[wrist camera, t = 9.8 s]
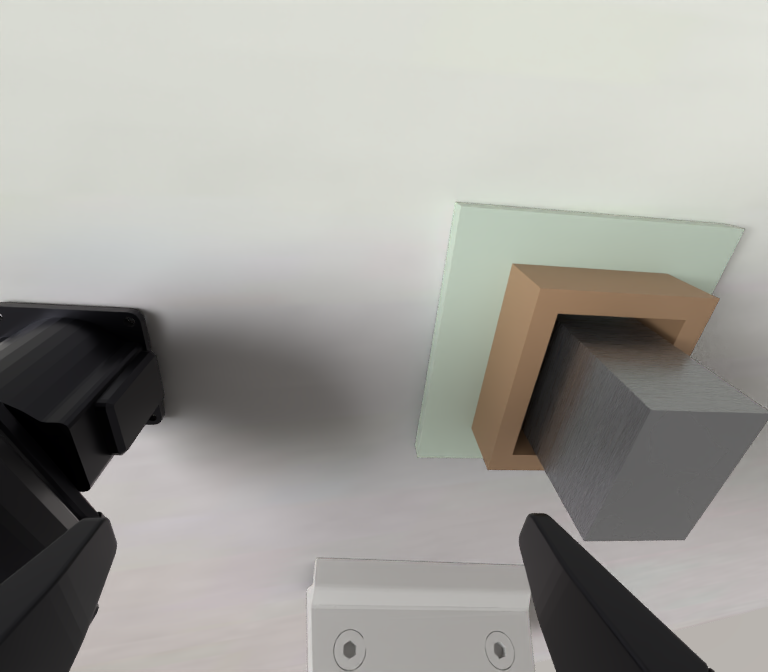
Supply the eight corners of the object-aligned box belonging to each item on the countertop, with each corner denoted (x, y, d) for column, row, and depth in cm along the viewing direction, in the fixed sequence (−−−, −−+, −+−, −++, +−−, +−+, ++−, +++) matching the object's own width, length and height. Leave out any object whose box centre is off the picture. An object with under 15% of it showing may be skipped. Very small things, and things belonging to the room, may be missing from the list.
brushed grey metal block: (507, 403, 21) (583, 541, 14) (538, 301, 19) (651, 410, 12) (577, 405, 22) (684, 540, 15) (617, 306, 19) (772, 413, 12)
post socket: (414, 445, 24) (426, 501, 20) (455, 202, 17) (482, 222, 14) (617, 448, 25) (661, 501, 22) (726, 223, 19) (813, 247, 15)
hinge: (530, 565, 31) (573, 753, 24) (505, 578, 34) (536, 746, 27) (311, 557, 28) (290, 764, 21) (307, 572, 32) (288, 755, 25)
